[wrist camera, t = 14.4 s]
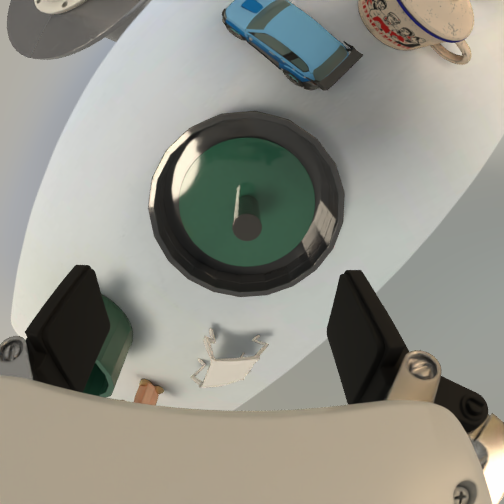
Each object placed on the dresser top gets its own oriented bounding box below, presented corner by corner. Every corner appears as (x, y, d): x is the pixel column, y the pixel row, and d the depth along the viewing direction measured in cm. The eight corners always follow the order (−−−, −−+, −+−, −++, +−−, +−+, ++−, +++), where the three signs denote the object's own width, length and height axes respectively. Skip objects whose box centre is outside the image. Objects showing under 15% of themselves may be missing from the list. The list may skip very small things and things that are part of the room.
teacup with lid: (338, 9, 20) (385, -35, 9) (382, -27, 17) (433, -65, 6) (417, 87, 23) (490, 88, 13) (452, 47, 20) (520, 40, 10)
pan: (135, 229, 31) (122, 244, 27) (215, 80, 24) (210, 74, 20) (271, 299, 35) (273, 320, 32) (364, 177, 28) (379, 186, 25)
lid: (160, 224, 30) (140, 252, 24) (223, 111, 25) (216, 110, 19) (266, 281, 33) (270, 317, 28) (338, 184, 28) (360, 204, 22)
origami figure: (218, 308, 36) (214, 335, 31) (271, 336, 38) (273, 362, 34) (177, 358, 40) (171, 383, 36) (224, 379, 42) (222, 404, 38)
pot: (56, 337, 39) (33, 376, 31) (69, 258, 32) (31, 300, 24) (118, 371, 42) (102, 415, 34) (149, 303, 35) (128, 356, 27)
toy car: (254, -10, 19) (256, -35, 14) (346, 61, 23) (368, 51, 18) (215, 25, 21) (207, 6, 16) (309, 98, 25) (324, 94, 20)
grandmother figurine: (172, 388, 44) (160, 451, 33) (165, 397, 45) (153, 457, 34) (130, 370, 42) (110, 433, 31) (126, 381, 43) (107, 440, 32)
